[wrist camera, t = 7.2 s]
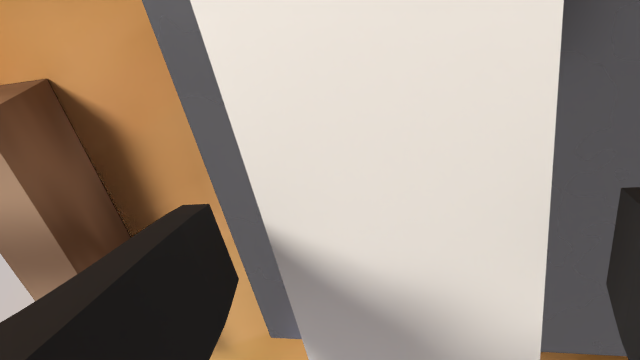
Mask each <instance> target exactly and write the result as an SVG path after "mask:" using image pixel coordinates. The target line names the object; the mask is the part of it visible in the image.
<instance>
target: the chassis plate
mask: <svg viewBox="0 0 640 360" xmlns="http://www.w3.org/2000/svg"><path fill="white" fill-rule="evenodd" d="M142 2H143V4H144V7H145V10H146V12H147V15H148V18H149V20H150V23H151V25H152V28H153V31H154V33H155V36H156V38H157V41H158V44H159V46H160V49H161V51H162V54H163V57H164V59H165V62H166V65H167V67H168V70H169V72H170V75H171V78H172V80H173V83H174V85H175V88H176V91H177V93H178V96H179V99H180V101H181V104H182V106H183V109H184V112H185V114H186V117H187V119H188V122H189V125H190V127H191V130H192V132H193V135H194V138H195V140H196V143H197V146H198V148H199V151H200V153H201V156H202V159H203V161H204V164H205V166H206V169H207V172H208V174H209V177H210V180H211V182H212V185H213V187H214V190H215V193H216V195H217V198H218V200H219V203H220V206H221V208H222V211H223V213H224V216H225V219H226V221H227V224H228V227H229V229H230V232H231V234H232V237H233V240H234V242H235V245H236V247H237V250H238V253H239V255H240V258H241V261H242V263H243V266H244V268H245V271H246V274H247V276H248V279H249V281H250V284H251V287H252V289H253V292H254V294H255V297H256V300H257V302H258V305H259V308H260V310H261V313H262V315H263V318H264V321H265V323H266V326H267V328H268V331H269V334H270V336H271V338H289V339H302V337H301V334H300V331H299V328H298V325H297V322H296V319H295V316H294V313H293V310H292V307H291V304H290V301H289V298H288V295H287V292H286V289H285V286H284V283H283V280H282V277H281V274H280V271H279V268H278V265H277V262H276V259H275V256H274V253H273V250H272V247H271V244H270V241H269V238H268V235H267V232H266V228H265V225H264V222H263V219H262V216H261V213H260V210H259V207H258V204H257V201H256V198H255V195H254V192H253V189H252V186H251V183H250V180H249V177H248V174H247V171H246V168H245V165H244V162H243V159H242V156H241V153H240V150H239V147H238V144H237V141H236V138H235V135H234V132H233V129H232V126H231V123H230V120H229V117H228V114H227V111H226V108H225V105H224V102H223V98H222V95H221V92H220V89H219V86H218V83H217V80H216V77H215V74H214V71H213V68H212V65H211V62H210V59H209V56H208V53H207V50H206V47H205V44H204V41H203V38H202V35H201V32H200V29H199V26H198V23H197V20H196V17H195V14H194V11H193V8H192V5H191V2H190V0H142ZM629 187H640V0H564V5H563V20H562V35H561V50H560V65H559V80H558V95H557V110H556V125H555V140H554V156H553V171H552V186H551V201H550V216H549V231H548V246H547V261H546V276H545V291H544V306H543V321H542V336H541V351H540V352H556V353H575V354H595V355H614V356H627V354H626V352H625V349H624V347H623V344H622V341H621V338H620V334H619V331H618V327H617V324H616V320H615V317H614V313H613V309H612V305H611V301H610V297H609V293H608V289H607V285H606V281H607V275H608V268H609V262H610V255H611V249H612V243H613V236H614V230H615V223H616V217H617V210H618V204H619V198H620V191H621V188H629Z"/></svg>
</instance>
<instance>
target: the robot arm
mask: <svg viewBox="0 0 640 360" xmlns="http://www.w3.org/2000/svg"><path fill="white" fill-rule="evenodd" d="M238 280H239V278H238V276H237V273H236V271H235V268H234V266H233V263H232V261H231V258H230V256H229V253H228V250H227V248H226V245H225V243H224V240H223V238H222V235H221V233H220V230H219V228H218V225H217V223H216V220H215V217H214V215H213V212H212V210H211V207H210V205H209V204H199V205H182V206H180V207H178V208H177V209H175V210H173V211H171V212H170V213H168V214H166V215H165V216H163V217H162V218H160V219H158V220H157V221H155V222H154V223H152V224H151V225H149V226H148V227H146V228H145V229H143V230H142V231H140V232H139V233H137V234H136V235H134V236H133V237H131V238H130V239H129V240H127V241H126V242H124V243H123V244H121V245H120V246H118V247H117V248H115V249H114V250H112V251H111V252H110V253H108V254H107V255H105V256H104V257H102V258H101V259H99V260H98V261H96V262H95V263H93V264H92V265H91V266H89V267H88V268H86V269H85V270H83V271H82V272H80V273H79V274H77V275H75V276H74V277H72V278H71V279H69V280H68V281H66V282H65V283H63V284H62V285H60V286H58V287H57V288H55V289H54V290H52V291H51V292H49V293H48V294H46V295H44V296H43V297H41V298H40V299H38V300H37V301H35V302H34V303H32V304H31V305H29V306H27V307H26V308H24V309H22V310H21V311H19V312H18V313H16V314H14V315H13V316H11V317H9V318H7V319H6V320H4V321H2V322H1V323H0V360H209V359H210V357H211V355H212V352H213V350H214V348H215V346H216V344H217V341H218V339H219V337H220V335H221V332H222V330H223V328H224V326H225V323H226V320H227V317H228V314H229V311H230V308H231V305H232V301H233V298H234V294H235V291H236V287H237V284H238ZM606 285H607V289H608V293H609V297H610V301H611V305H612V309H613V313H614V317H615V320H616V324H617V327H618V331H619V334H620V338H621V341H622V344H623V347H624V349H625V352H626V354H627V357H628V359H629V360H640V187H629V188H621V191H620V198H619V204H618V210H617V217H616V223H615V230H614V236H613V243H612V249H611V255H610V262H609V268H608V275H607V281H606Z"/></svg>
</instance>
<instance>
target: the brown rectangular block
mask: <svg viewBox="0 0 640 360" xmlns="http://www.w3.org/2000/svg"><path fill="white" fill-rule="evenodd" d="M129 239H130V236H129V234H128V232H127V230H126V228H125V226H124V224H123V222H122V221H121V219H120V217H119V215H118V213H117V211H116V209H115V207H114V205H113V203H112V202H111V200H110V198H109V196H108V194H107V192H106V190H105V188H104V186H103V185H102V183H101V181H100V179H99V177H98V175H97V173H96V171H95V169H94V167H93V166H92V164H91V162H90V160H89V158H88V156H87V154H86V152H85V150H84V149H83V147H82V145H81V143H80V141H79V139H78V137H77V135H76V133H75V132H74V130H73V128H72V126H71V124H70V122H69V120H68V118H67V116H66V114H65V113H64V111H63V109H62V107H61V105H60V103H59V101H58V99H57V97H56V96H55V94H54V92H53V90H52V88H51V86H50V84H49V82H48V80H47V79H42V80H35V81H28V82H21V83H14V84H7V85H0V254H1V255H2V256H3V258H4V259H5V260H6V262H7V263H8V264H9V266H10V267H11V269H12V270H13V271H14V273H15V274H16V276H17V277H18V278H19V280H20V281H21V282H22V284H23V285H24V286H25V288H26V289H27V290H28V292H29V293H30V295H31V296H32V297H33V299H34V300H35V301H37V300H38V299H40V298H41V297H43V296H44V295H46V294H48V293H49V292H51V291H52V290H54V289H55V288H57V287H58V286H60V285H62V284H63V283H65V282H66V281H68V280H69V279H71V278H72V277H74V276H75V275H77V274H79V273H80V272H82V271H83V270H85V269H86V268H88V267H89V266H91V265H92V264H93V263H95V262H96V261H98V260H99V259H101V258H102V257H104V256H105V255H107V254H108V253H110V252H111V251H112V250H114V249H115V248H117V247H118V246H120V245H121V244H123V243H124V242H126V241H127V240H129Z"/></svg>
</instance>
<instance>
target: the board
mask: <svg viewBox="0 0 640 360" xmlns="http://www.w3.org/2000/svg"><path fill="white" fill-rule="evenodd" d="M190 2H191V5H192V8H193V11H194V14H195V17H196V20H197V23H198V26H199V29H200V32H201V35H202V38H203V41H204V44H205V47H206V50H207V53H208V56H209V59H210V62H211V65H212V68H213V71H214V74H215V77H216V80H217V83H218V86H219V89H220V92H221V95H222V98H223V102H224V105H225V108H226V111H227V114H228V117H229V120H230V123H231V126H232V129H233V132H234V135H235V138H236V141H237V144H238V147H239V150H240V153H241V156H242V159H243V162H244V165H245V168H246V171H247V174H248V177H249V180H250V183H251V186H252V189H253V192H254V195H255V198H256V201H257V204H258V207H259V210H260V213H261V216H262V219H263V222H264V225H265V228H266V232H267V235H268V238H269V241H270V244H271V247H272V250H273V253H274V256H275V259H276V262H277V265H278V268H279V271H280V274H281V277H282V280H283V283H284V286H285V289H286V292H287V295H288V298H289V301H290V304H291V307H292V310H293V313H294V316H295V319H296V322H297V325H298V328H299V331H300V334H301V337H302V340H303V343H304V346H305V349H306V352H307V355H308V358H309V360H540V351H541V336H542V321H543V306H544V291H545V276H546V261H547V246H548V231H549V216H550V201H551V186H552V171H553V156H554V140H555V125H556V110H557V95H558V80H559V65H560V50H561V35H562V20H563V5H564V0H190Z"/></svg>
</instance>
